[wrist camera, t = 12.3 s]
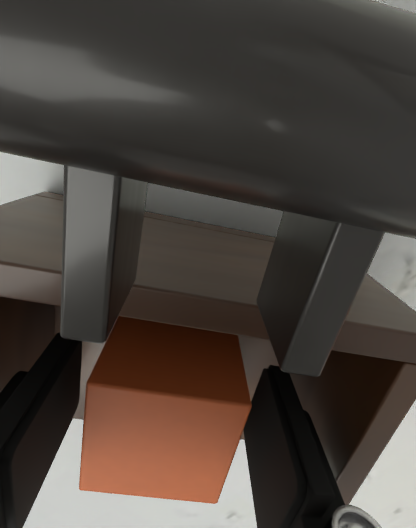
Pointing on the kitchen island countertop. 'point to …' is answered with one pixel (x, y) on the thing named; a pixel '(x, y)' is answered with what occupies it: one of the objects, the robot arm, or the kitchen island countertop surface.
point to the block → (163, 412)
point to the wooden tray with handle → (219, 191)
